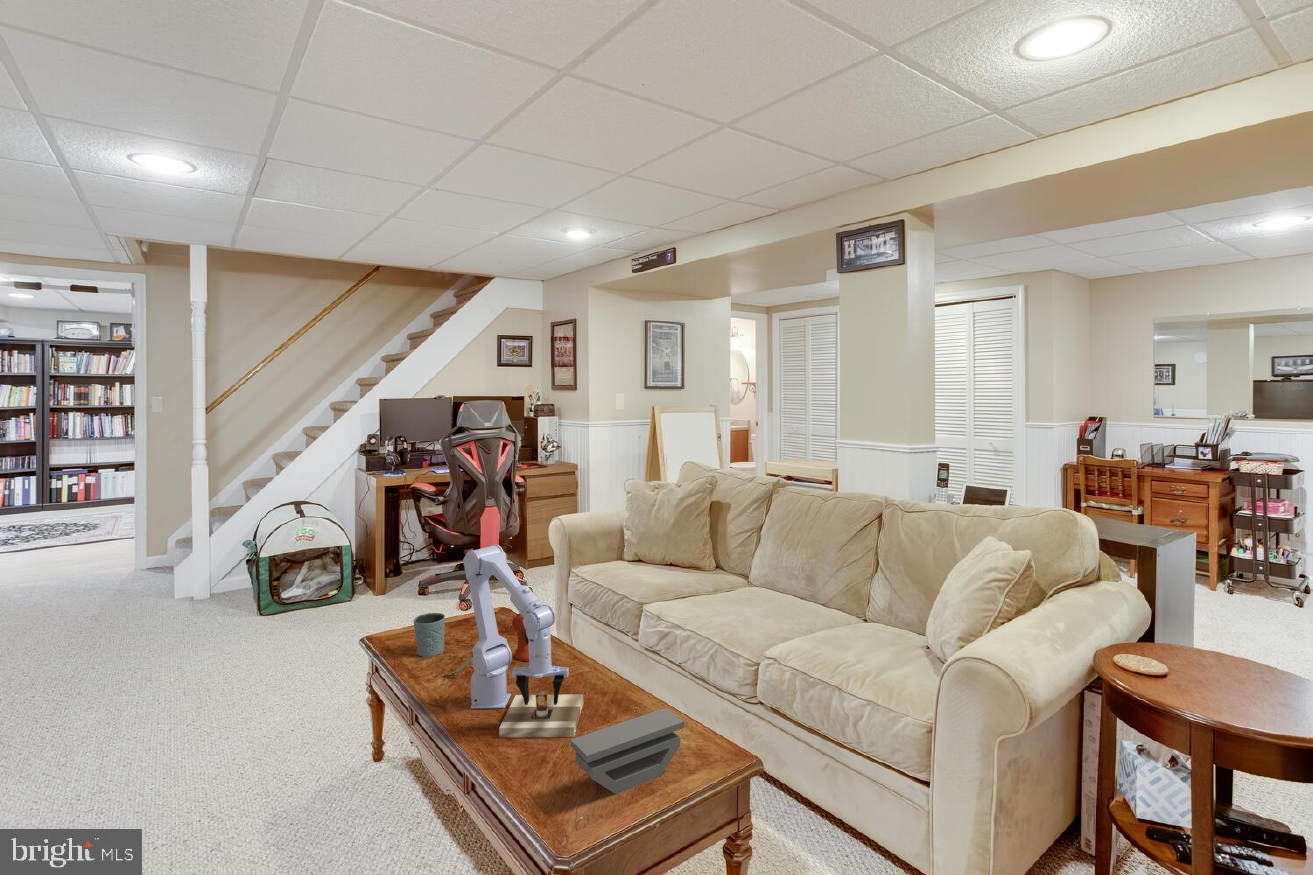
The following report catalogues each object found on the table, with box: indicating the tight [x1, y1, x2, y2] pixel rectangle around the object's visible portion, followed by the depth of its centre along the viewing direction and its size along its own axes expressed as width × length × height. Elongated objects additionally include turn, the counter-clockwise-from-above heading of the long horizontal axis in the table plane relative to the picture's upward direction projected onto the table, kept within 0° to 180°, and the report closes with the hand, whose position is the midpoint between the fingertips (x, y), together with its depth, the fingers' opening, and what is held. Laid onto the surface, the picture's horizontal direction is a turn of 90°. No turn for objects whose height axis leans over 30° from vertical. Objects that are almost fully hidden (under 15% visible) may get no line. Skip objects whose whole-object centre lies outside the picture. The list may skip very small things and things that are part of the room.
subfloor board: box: [498, 693, 585, 738], centre depth 176 cm, size 19×18×2 cm
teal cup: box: [413, 612, 446, 658], centre depth 222 cm, size 10×10×12 cm
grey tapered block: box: [570, 708, 685, 795], centre depth 149 cm, size 25×8×11 cm, turn 123°
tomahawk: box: [443, 655, 473, 680], centre depth 212 cm, size 21×7×1 cm, turn 166°
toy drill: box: [511, 612, 529, 662], centre depth 213 cm, size 5×19×15 cm, turn 46°
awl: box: [535, 690, 549, 719], centre depth 174 cm, size 3×3×8 cm
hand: (541, 702), depth 173 cm, fingers open, 7 cm apart
